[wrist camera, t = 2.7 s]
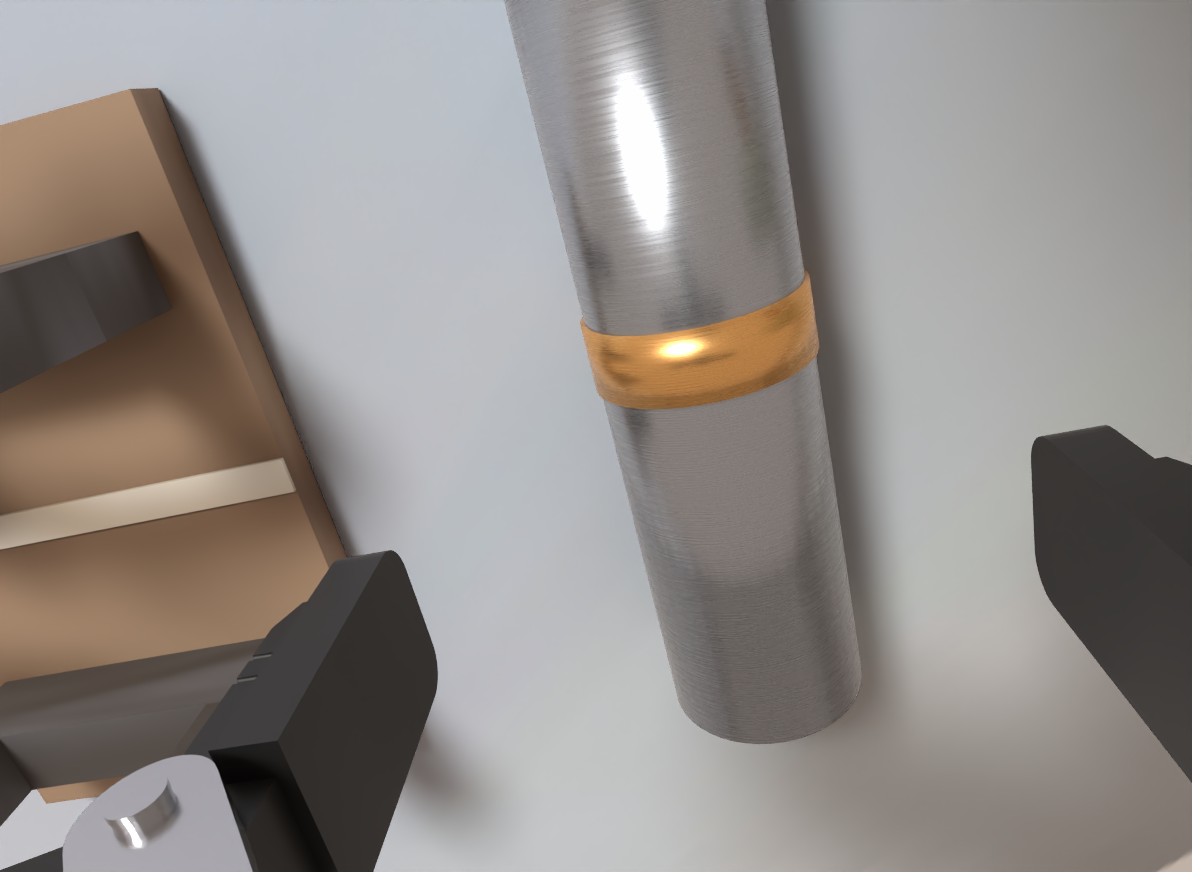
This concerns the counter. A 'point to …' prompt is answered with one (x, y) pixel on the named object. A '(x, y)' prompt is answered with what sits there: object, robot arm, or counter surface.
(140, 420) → the cradle stand
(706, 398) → the tube
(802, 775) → the counter surface
